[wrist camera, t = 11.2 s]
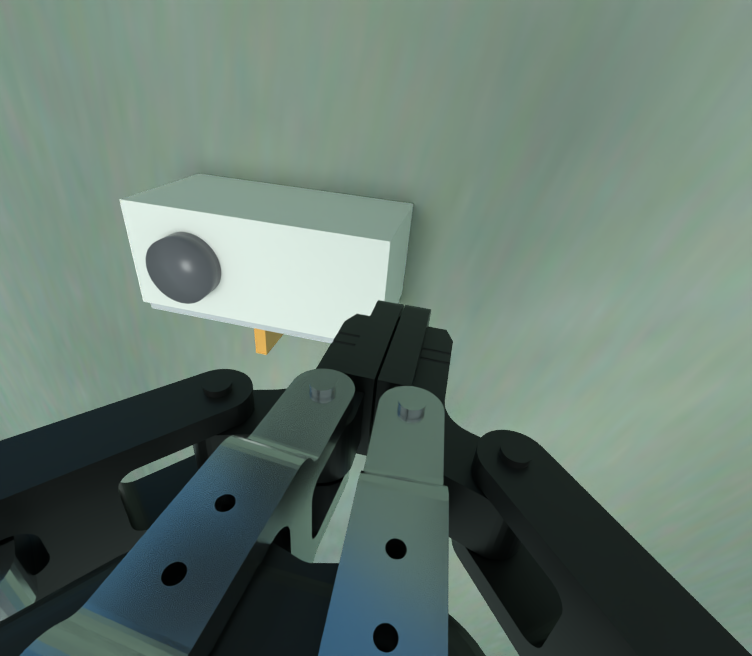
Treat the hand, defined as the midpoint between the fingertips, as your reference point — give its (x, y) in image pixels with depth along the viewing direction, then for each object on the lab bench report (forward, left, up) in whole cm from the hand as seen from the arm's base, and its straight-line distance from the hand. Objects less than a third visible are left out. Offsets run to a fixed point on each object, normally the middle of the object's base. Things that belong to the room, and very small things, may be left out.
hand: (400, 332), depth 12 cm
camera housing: (+10, -16, -33) cm, 38 cm away
